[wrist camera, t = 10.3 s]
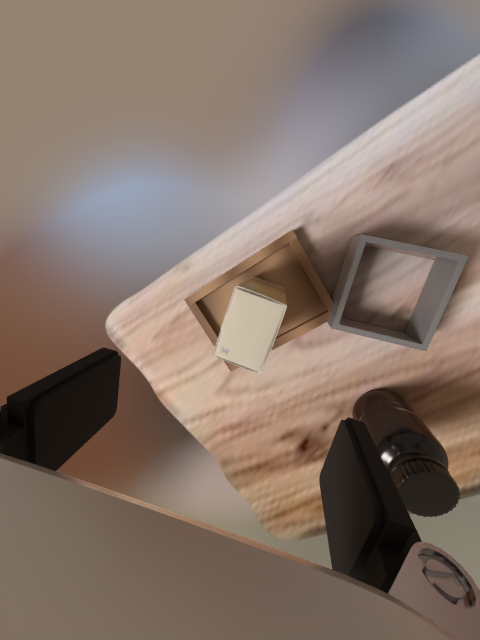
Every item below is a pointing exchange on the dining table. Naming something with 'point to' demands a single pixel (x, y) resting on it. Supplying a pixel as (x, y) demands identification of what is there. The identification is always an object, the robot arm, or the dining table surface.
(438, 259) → the holder
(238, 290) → the skincare box
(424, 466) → the supplement bottle
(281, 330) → the tray
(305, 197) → the dining table surface
